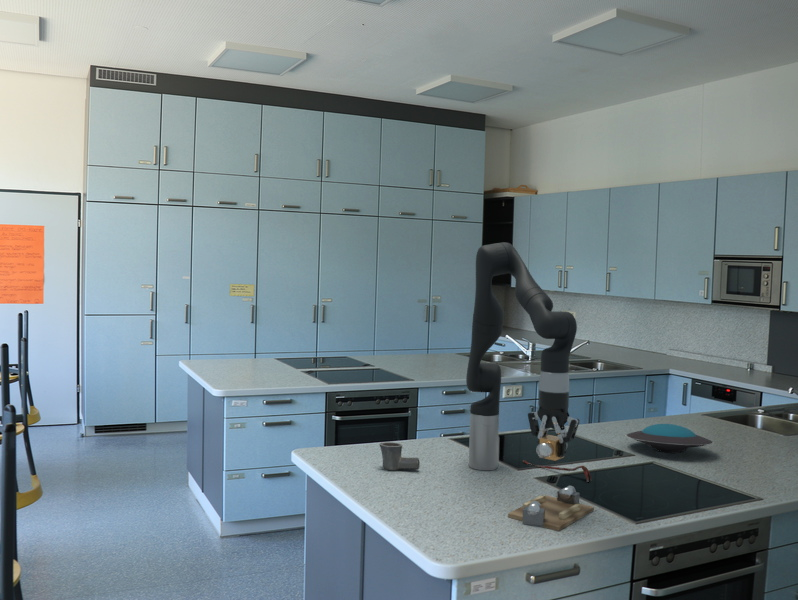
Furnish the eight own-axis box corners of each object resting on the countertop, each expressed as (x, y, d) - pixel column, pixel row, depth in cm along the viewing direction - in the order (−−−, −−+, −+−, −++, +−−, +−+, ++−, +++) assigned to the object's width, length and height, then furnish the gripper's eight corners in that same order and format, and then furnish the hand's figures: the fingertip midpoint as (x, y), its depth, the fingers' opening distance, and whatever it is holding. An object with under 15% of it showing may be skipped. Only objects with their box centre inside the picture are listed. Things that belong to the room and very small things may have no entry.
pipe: (417, 474, 210) (417, 448, 210) (376, 470, 213) (377, 445, 212) (420, 468, 216) (421, 443, 216) (380, 465, 219) (381, 440, 218)
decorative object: (718, 450, 250) (719, 422, 250) (705, 467, 226) (706, 437, 225) (635, 438, 266) (636, 412, 265) (615, 453, 241) (616, 425, 241)
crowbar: (592, 482, 206) (591, 466, 207) (587, 484, 205) (586, 467, 205) (527, 474, 227) (525, 458, 227) (522, 475, 225) (521, 459, 226)
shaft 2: (562, 501, 187) (562, 483, 187) (579, 505, 184) (579, 487, 184) (555, 505, 184) (555, 487, 184) (572, 509, 181) (573, 491, 181)
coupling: (553, 452, 182) (553, 433, 182) (568, 455, 179) (569, 436, 179) (534, 459, 174) (534, 439, 174) (550, 462, 171) (551, 442, 171)
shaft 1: (525, 518, 173) (525, 499, 173) (545, 521, 171) (545, 502, 171) (522, 524, 169) (523, 504, 169) (543, 526, 168) (543, 507, 167)
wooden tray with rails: (545, 498, 189) (545, 489, 189) (593, 510, 180) (593, 501, 180) (508, 517, 174) (508, 507, 174) (558, 531, 165) (558, 520, 165)
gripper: (586, 390, 174) (584, 457, 175) (536, 384, 184) (534, 447, 184) (573, 394, 169) (570, 463, 169) (522, 387, 178) (520, 452, 178)
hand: (551, 454), depth 177 cm, fingers closed on coupling, 4 cm apart
